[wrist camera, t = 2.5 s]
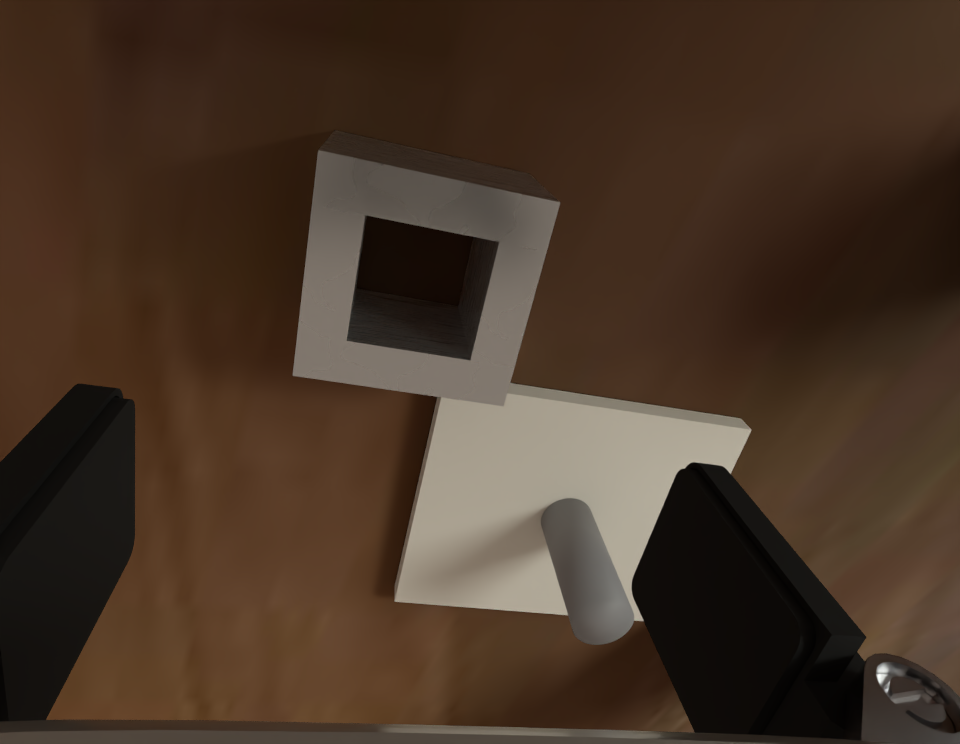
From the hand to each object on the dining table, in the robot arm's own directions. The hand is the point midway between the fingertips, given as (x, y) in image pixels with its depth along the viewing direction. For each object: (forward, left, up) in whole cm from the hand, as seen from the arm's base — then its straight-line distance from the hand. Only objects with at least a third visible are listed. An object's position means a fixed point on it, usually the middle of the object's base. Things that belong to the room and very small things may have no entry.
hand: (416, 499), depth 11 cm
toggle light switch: (-9, +11, -15) cm, 20 cm away
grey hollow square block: (0, 0, -15) cm, 15 cm away
